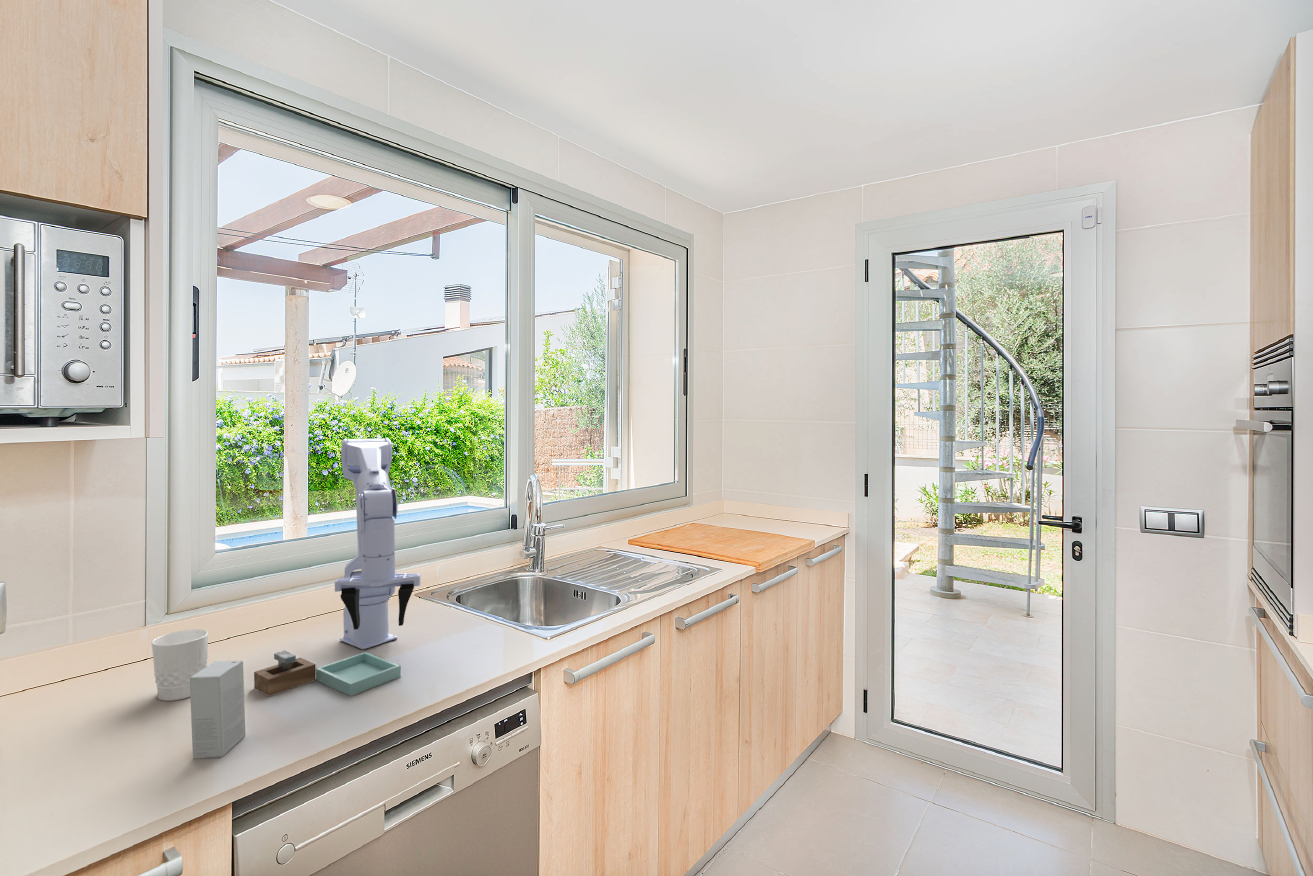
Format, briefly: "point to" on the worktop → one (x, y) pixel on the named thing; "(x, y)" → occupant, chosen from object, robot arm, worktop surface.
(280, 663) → the t post
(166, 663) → the white cup
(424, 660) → the worktop surface
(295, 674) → the frame ring
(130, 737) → the worktop surface
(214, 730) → the skincare box
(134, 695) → the worktop surface
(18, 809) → the worktop surface
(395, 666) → the tray
